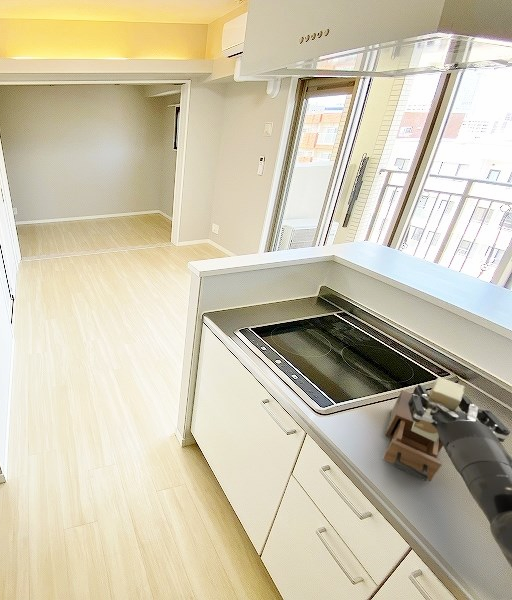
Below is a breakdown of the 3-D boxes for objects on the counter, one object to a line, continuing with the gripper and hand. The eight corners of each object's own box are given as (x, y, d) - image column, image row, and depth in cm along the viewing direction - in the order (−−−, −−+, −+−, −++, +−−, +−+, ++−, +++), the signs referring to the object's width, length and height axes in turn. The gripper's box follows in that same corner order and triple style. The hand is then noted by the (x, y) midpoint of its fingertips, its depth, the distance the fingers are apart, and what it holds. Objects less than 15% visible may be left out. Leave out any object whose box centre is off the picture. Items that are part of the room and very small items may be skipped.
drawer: (428, 495, 70) (440, 478, 67) (379, 470, 75) (389, 453, 72) (433, 450, 79) (444, 434, 76) (390, 431, 84) (398, 415, 81)
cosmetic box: (416, 416, 77) (437, 375, 71) (440, 427, 74) (465, 385, 68) (409, 431, 73) (432, 389, 67) (435, 443, 70) (461, 400, 64)
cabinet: (435, 458, 78) (449, 436, 74) (385, 435, 84) (395, 414, 80) (438, 428, 85) (451, 407, 82) (391, 410, 91) (402, 389, 88)
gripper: (546, 453, 53) (491, 386, 67) (433, 426, 59) (403, 370, 72) (521, 482, 57) (473, 413, 70) (417, 455, 62) (391, 395, 76)
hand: (438, 391), depth 71 cm, fingers closed on cosmetic box, 6 cm apart
